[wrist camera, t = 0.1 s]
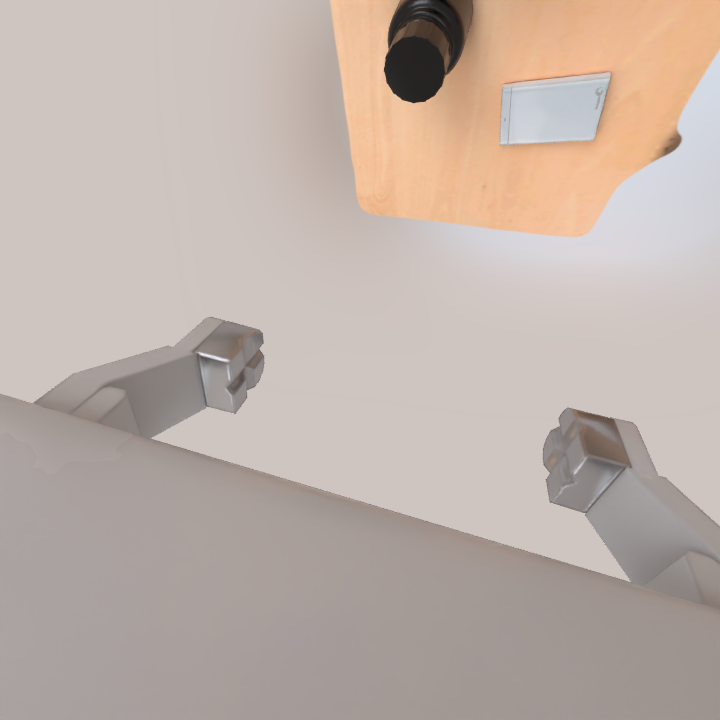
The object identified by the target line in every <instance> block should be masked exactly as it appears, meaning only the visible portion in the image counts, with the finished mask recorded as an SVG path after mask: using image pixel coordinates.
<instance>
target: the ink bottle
mask: <svg viewBox="0 0 720 720" xmlns="http://www.w3.org/2000/svg"><path fill="white" fill-rule="evenodd" d="M472 15H473V4H472V0H400V2H399V4H398V6H397V9H396V11H395V13H394V15H393V18H392V20H391V23H390V27H389V32H388V48H389V50H388V53H387V55H386V58H385V59H386V61H385V67H384V72H385V76H386V82H387V84H388V85H389V86H390V88H391V90H392V92H393V93H394V94H396V95H397V96H398V97H400V98H401V99H402V100H404V101H408V102H412V103H417V102H425V101H426V100H428V99H430V98H431V97H433V96H435V95H436V93H437V91H438V90H439V89H440V87H442V84H443V81H444V78H445V76H446V75H447V74H449V73H450V72H451V70H452V69H453V68H454V67H455V65H456V64H457V62H458V61H459V59H460V56H461V54H462V51H463V48H464V45H465V42H466V38H467V35H468V32H469V28H470V25H471V21H472Z"/></svg>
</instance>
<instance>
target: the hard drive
mask: <svg viewBox="0 0 720 720" xmlns="http://www.w3.org/2000/svg"><path fill="white" fill-rule="evenodd" d="M610 77H611V72H606V73H598V74H588V75H579V76H570V77H561V78H552V79H543V80H535V81H526V82H517V83H508V84H503V89H502V108H501V129H500V145H517V144H537V143H556V142H574V141H593V140H594V138H595V134H596V130H597V127H598V123H599V119H600V115H601V112H602V108H603V104H604V100H605V97H606V93H607V89H608V85H609V81H610Z"/></svg>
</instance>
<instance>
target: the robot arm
mask: <svg viewBox="0 0 720 720" xmlns="http://www.w3.org/2000/svg"><path fill="white" fill-rule="evenodd" d="M262 344H263V333H262V332H261V331H260V330H258V329H255V328H251V327H247V326H244V325H240V324H237V323H233V322H229V321H225V320H221V319H217V318H214V317H208V318H205V319H204V320H203V321H202V322H201V323H200V324H199V325H197V326H196V327H195V328H194V329H193V330H192V331H191V332H190V333H188V334H187V335H186V336H185V337H184V338H183V339H182V340H181V341H179V342H178V343H177V344H176V345H175V346H174V347H171V346H166V347H162V348H159V349H155V350H152V351H149V352H145V353H142V354H139V355H135V356H132V357H128V358H125V359H121V360H118V361H115V362H111V363H108V364H104V365H101V366H98V367H94V368H91V369H88V370H84V371H80V372H77V373H74V374H72V375H70V376H69V377H68V378H66V379H65V380H64V381H62V382H61V383H60V384H58V385H57V386H55V387H54V388H53V389H51V390H50V391H49V392H47V393H46V394H45V395H43V396H42V397H41V398H39V399H38V400H37V401H35V402H34V403H29V402H26V401H22V400H19V399H16V398H12V397H9V396H5V395H2V394H0V720H720V526H719V525H718V524H716V523H715V522H714V521H713V520H712V519H711V518H710V517H709V516H707V515H706V514H705V513H704V512H703V511H702V510H701V509H700V508H699V507H698V506H696V505H695V504H694V503H693V502H692V501H691V500H690V499H689V498H688V497H686V496H685V495H684V494H683V493H682V492H681V491H680V490H679V489H678V488H676V487H675V486H674V485H673V484H672V483H671V482H670V481H669V480H667V478H665V477H661V476H658V474H657V471H656V469H655V467H654V465H653V462H652V460H651V458H650V455H649V453H648V451H647V448H646V446H645V444H644V442H643V440H642V437H641V435H640V433H639V430H638V428H637V426H636V425H635V424H634V423H633V422H629V421H624V420H620V419H615V418H611V417H610V418H608V417H604V416H600V415H596V414H592V413H588V412H584V411H580V410H576V409H572V408H566V409H565V410H564V411H563V412H562V414H561V415H560V417H559V423H560V427H557V428H555V429H553V430H551V431H550V433H549V435H548V436H547V438H546V441H545V444H544V448H543V463H544V466H545V467H546V468H547V470H548V471H549V472H550V475H549V476H548V477H547V479H546V482H547V488H548V495H549V501H550V502H551V503H554V504H557V505H560V506H564V507H567V508H570V509H573V510H577V511H580V512H583V513H586V514H585V516H586V517H587V518H588V520H589V521H590V523H591V524H592V526H593V527H594V529H595V530H596V532H597V533H598V534H599V536H600V537H601V539H602V540H603V542H604V543H605V545H606V546H607V547H608V549H609V550H610V552H611V553H612V555H613V556H614V557H615V559H616V560H617V562H618V563H619V565H620V566H621V568H622V569H623V571H624V572H625V573H626V575H627V576H628V578H629V579H630V581H631V582H628V581H625V580H622V579H618V578H615V577H611V576H608V575H605V574H601V573H598V572H595V571H591V570H588V569H584V568H581V567H578V566H574V565H571V564H568V563H565V562H561V561H558V560H555V559H551V558H548V557H545V556H541V555H538V554H535V553H531V552H528V551H525V550H521V549H518V548H514V547H511V546H507V545H504V544H501V543H497V542H494V541H491V540H488V539H484V538H481V537H477V536H474V535H471V534H468V533H464V532H460V531H458V530H454V529H451V528H448V527H444V526H441V525H438V524H434V523H431V522H428V521H424V520H421V519H418V518H414V517H411V516H407V515H404V514H401V513H397V512H394V511H391V510H387V509H384V508H380V507H377V506H374V505H371V504H367V503H364V502H361V501H357V500H354V499H351V498H347V497H344V496H341V495H337V494H333V493H331V492H327V491H324V490H321V489H317V488H314V487H310V486H307V485H304V484H300V483H297V482H293V481H290V480H287V479H284V478H280V477H277V476H274V475H270V474H267V473H264V472H260V471H257V470H254V469H250V468H247V467H244V466H240V465H237V464H233V463H230V462H227V461H223V460H220V459H217V458H213V457H210V456H206V455H203V454H200V453H197V452H193V451H190V450H187V449H183V448H180V447H177V446H173V445H170V444H167V443H163V442H160V441H156V440H153V439H150V438H152V437H153V436H155V435H157V434H159V433H161V432H163V431H164V430H166V429H168V428H170V427H172V426H174V425H176V424H177V423H179V422H181V421H183V420H185V419H187V418H188V417H190V416H192V415H194V414H196V413H198V412H200V411H201V410H203V409H205V408H206V406H207V407H211V408H215V409H219V410H223V411H227V412H231V413H236V412H237V411H238V409H239V408H240V407H241V405H242V404H243V403H244V401H245V400H246V398H247V390H249V389H251V388H254V387H255V386H256V384H257V383H258V382H259V380H260V378H261V374H262V372H263V368H264V355H263V354H262V352H261V351H260V349H259V348H260V347H261V345H262Z"/></svg>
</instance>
